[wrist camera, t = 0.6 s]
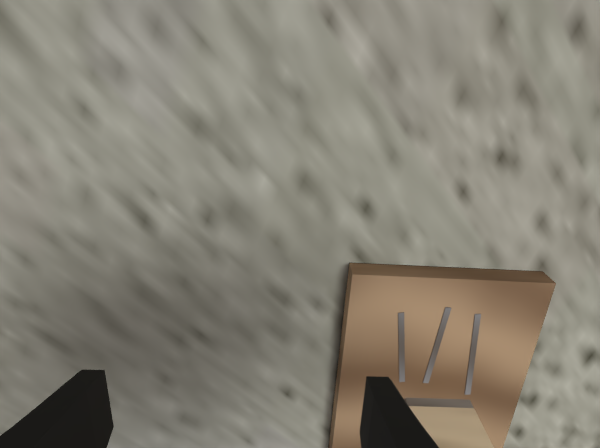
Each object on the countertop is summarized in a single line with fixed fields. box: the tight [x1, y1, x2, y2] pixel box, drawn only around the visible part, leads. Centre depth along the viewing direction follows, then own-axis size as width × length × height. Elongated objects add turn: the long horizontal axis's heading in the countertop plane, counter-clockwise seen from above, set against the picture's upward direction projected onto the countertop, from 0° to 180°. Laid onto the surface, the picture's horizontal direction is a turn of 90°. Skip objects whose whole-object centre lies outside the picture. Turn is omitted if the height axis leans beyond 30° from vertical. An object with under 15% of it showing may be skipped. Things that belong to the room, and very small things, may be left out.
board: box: [329, 263, 556, 448], centre depth 24 cm, size 14×10×1 cm
